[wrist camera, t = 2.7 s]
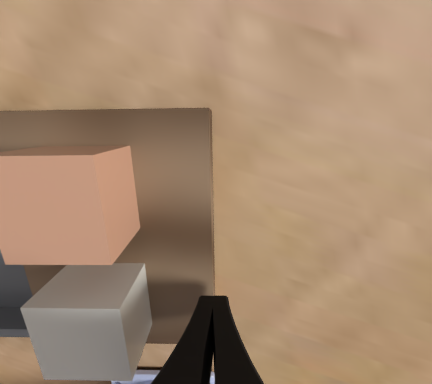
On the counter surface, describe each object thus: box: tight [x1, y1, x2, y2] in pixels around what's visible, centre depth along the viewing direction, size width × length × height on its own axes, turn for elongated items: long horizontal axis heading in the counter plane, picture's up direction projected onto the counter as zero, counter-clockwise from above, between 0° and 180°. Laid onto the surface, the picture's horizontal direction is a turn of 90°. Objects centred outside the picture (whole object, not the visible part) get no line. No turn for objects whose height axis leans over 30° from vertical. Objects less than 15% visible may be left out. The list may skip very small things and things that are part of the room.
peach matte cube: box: [0, 146, 140, 265], centre depth 9 cm, size 4×4×3 cm
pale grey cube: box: [20, 263, 152, 381], centre depth 11 cm, size 4×4×3 cm
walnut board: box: [0, 108, 215, 344], centre depth 13 cm, size 13×10×2 cm
